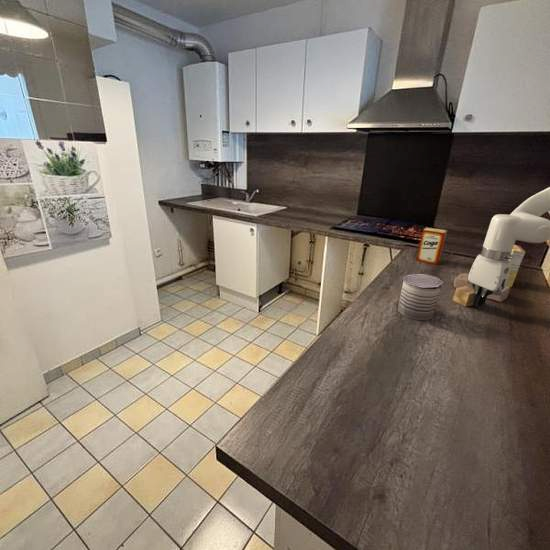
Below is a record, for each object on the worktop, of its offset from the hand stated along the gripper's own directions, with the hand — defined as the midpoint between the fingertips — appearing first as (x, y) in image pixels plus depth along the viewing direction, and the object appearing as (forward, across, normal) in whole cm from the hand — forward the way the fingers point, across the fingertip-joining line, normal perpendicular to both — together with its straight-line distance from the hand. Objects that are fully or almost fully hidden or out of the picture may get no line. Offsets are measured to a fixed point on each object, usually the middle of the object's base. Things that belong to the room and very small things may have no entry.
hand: (477, 304), depth 100 cm
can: (+2, +6, +22) cm, 23 cm away
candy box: (+2, +11, -33) cm, 35 cm away
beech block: (+2, +5, 0) cm, 5 cm away
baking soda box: (+2, +42, -24) cm, 49 cm away
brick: (+2, +9, -14) cm, 16 cm away
